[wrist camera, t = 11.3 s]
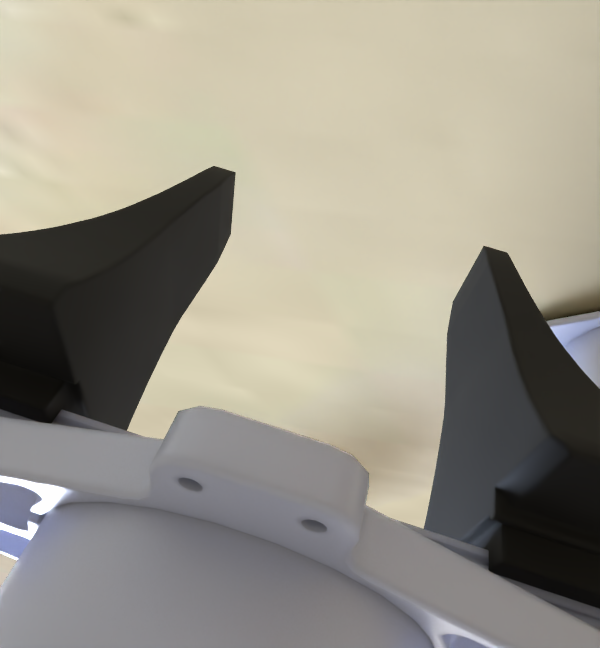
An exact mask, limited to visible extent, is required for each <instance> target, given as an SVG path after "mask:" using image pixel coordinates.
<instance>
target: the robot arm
mask: <svg viewBox="0 0 600 648" xmlns="http://www.w3.org/2000/svg"><path fill="white" fill-rule="evenodd" d="M234 185H235V172H232V171H229V170H226V169H222V168H219V167H216V166H213V167H211V168H208V169H206V170H204V171H202V172H200V173H198V174H197V175H195V176H193V177H191V178H189V179H187V180H185V181H183V182H181V183H179V184H177V185H175V186H173V187H171V188H169V189H167V190H165V191H163V192H161V193H159V194H157V195H154V196H152V197H150V198H147V199H145V200H143V201H140V202H138V203H136V204H134V205H131V206H129V207H126V208H123V209H120V210H118V211H115V212H112V213H109V214H105V215H102V216H99V217H96V218H92V219H88V220H84V221H80V222H75V223H71V224H67V225H63V226H58V227H53V228H47V229H41V230H35V231H28V232H21V233H12V234H2V235H0V553H2V554H4V555H6V556H9V557H11V558H13V559H16V560H17V562H16V563H15V565H14V566H13V568H12V570H11V571H10V573H9V574H8V576H7V577H6V579H5V581H4V582H3V584H2V585H1V587H0V648H600V311H597V312H592V313H586V314H581V315H575V316H570V317H565V318H559V319H554V320H549V321H545V319H544V317H543V316H542V314H541V313H540V311H539V309H538V308H537V306H536V304H535V302H534V301H533V299H532V297H531V296H530V294H529V292H528V290H527V288H526V286H525V285H524V283H523V281H522V279H521V277H520V275H519V273H518V271H517V270H516V268H515V266H514V264H513V262H512V260H511V258H510V257H509V255H508V253H506V252H503V251H500V250H496V249H493V248H489V247H486V246H484V247H483V249H482V250H481V252H480V254H479V256H478V258H477V259H476V261H475V263H474V265H473V267H472V268H471V270H470V272H469V274H468V276H467V277H466V279H465V281H464V283H463V285H462V286H461V288H460V290H459V292H458V294H457V295H456V297H455V299H454V301H453V305H452V310H451V315H450V321H449V327H448V333H447V357H446V392H445V410H444V420H443V426H442V433H441V440H440V446H439V452H438V458H437V464H436V470H435V476H434V481H433V486H432V491H431V496H430V502H429V507H428V512H427V517H426V521H425V526H424V529H422V528H419V527H416V526H413V525H410V524H407V523H404V522H401V521H398V520H395V519H392V518H389V517H387V516H386V515H384V514H382V513H380V512H378V511H376V510H374V509H372V508H371V507H369V506H367V505H366V500H367V494H368V489H369V473H368V472H367V470H366V469H365V468H364V467H363V466H362V465H361V464H360V463H359V462H358V460H357V459H356V458H355V457H354V456H353V455H351V454H349V453H347V452H345V451H343V450H341V449H339V448H337V447H335V446H333V445H330V444H327V443H324V442H321V441H318V440H315V439H312V438H309V437H306V436H302V435H299V434H296V433H293V432H290V431H287V430H284V429H281V428H278V427H275V426H272V425H269V424H265V423H262V422H259V421H256V420H253V419H250V418H247V417H244V416H241V415H238V414H235V413H232V412H228V411H225V410H222V409H216V408H210V407H204V406H198V407H194V408H190V409H185V410H181V411H178V413H177V415H176V417H175V419H174V421H173V423H172V425H171V427H170V429H169V431H168V432H167V434H166V436H165V438H164V439H157V438H150V437H144V436H141V435H138V434H135V433H132V432H129V431H127V429H128V426H129V424H130V422H131V419H132V417H133V415H134V412H135V410H136V408H137V406H138V403H139V401H140V399H141V397H142V394H143V392H144V390H145V388H146V386H147V383H148V381H149V379H150V377H151V375H152V373H153V371H154V369H155V367H156V365H157V362H158V360H159V358H160V356H161V354H162V352H163V350H164V348H165V346H166V344H167V342H168V340H169V338H170V336H171V334H172V332H173V330H174V329H175V327H176V325H177V324H178V322H179V320H180V319H181V317H182V315H183V314H184V312H185V311H186V309H187V308H188V306H189V305H190V303H191V302H192V300H193V299H194V297H195V296H196V294H197V293H198V291H199V290H200V288H201V287H202V285H203V284H204V282H205V281H206V279H207V278H208V276H209V275H210V273H211V272H212V270H213V269H214V267H215V265H216V264H217V262H218V260H219V258H220V256H221V254H222V252H223V250H224V248H225V245H226V243H227V241H228V239H229V237H230V234H231V223H232V210H233V197H234Z"/></svg>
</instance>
